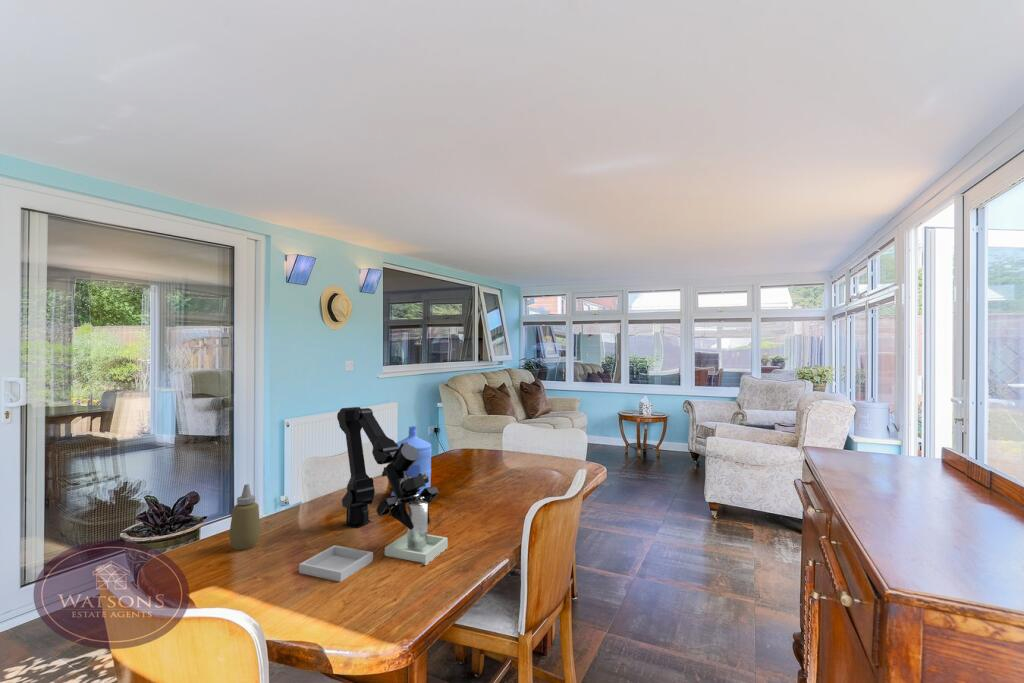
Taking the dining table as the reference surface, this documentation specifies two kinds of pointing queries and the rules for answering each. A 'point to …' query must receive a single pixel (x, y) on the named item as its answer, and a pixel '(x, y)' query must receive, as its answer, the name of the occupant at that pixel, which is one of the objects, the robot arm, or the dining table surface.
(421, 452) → the water jug
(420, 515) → the brushed metal cylinder
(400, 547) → the sage bin
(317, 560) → the grey bin
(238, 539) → the squeeze bottle
